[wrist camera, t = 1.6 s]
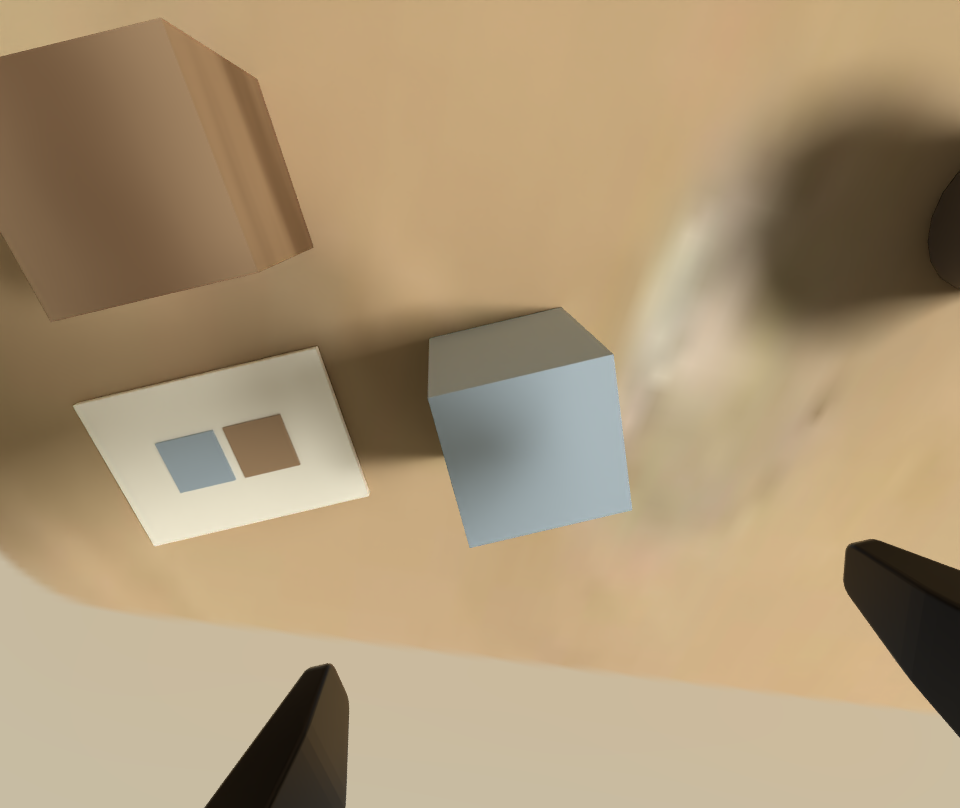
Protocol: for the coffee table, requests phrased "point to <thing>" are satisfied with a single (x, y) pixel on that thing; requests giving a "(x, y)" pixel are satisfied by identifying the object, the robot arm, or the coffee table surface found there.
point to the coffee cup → (947, 235)
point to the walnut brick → (138, 170)
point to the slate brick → (528, 425)
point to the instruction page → (227, 446)
